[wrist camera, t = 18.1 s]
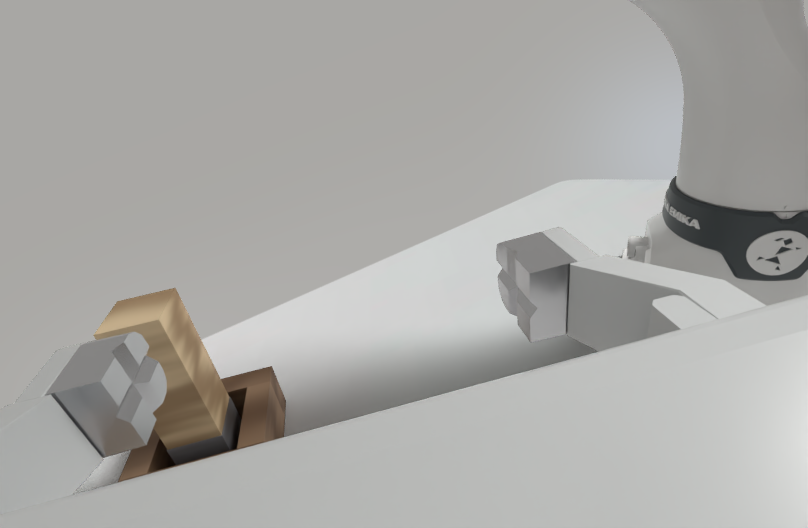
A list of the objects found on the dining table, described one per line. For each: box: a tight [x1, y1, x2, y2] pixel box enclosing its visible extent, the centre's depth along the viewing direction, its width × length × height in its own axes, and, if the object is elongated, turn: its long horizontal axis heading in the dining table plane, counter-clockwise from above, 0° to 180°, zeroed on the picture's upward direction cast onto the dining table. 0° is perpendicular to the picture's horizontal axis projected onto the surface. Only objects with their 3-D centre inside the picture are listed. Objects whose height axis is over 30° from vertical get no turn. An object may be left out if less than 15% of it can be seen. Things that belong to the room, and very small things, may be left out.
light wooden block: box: [94, 288, 242, 465], centre depth 33 cm, size 4×4×16 cm
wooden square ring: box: [118, 366, 286, 482], centre depth 36 cm, size 10×10×4 cm
